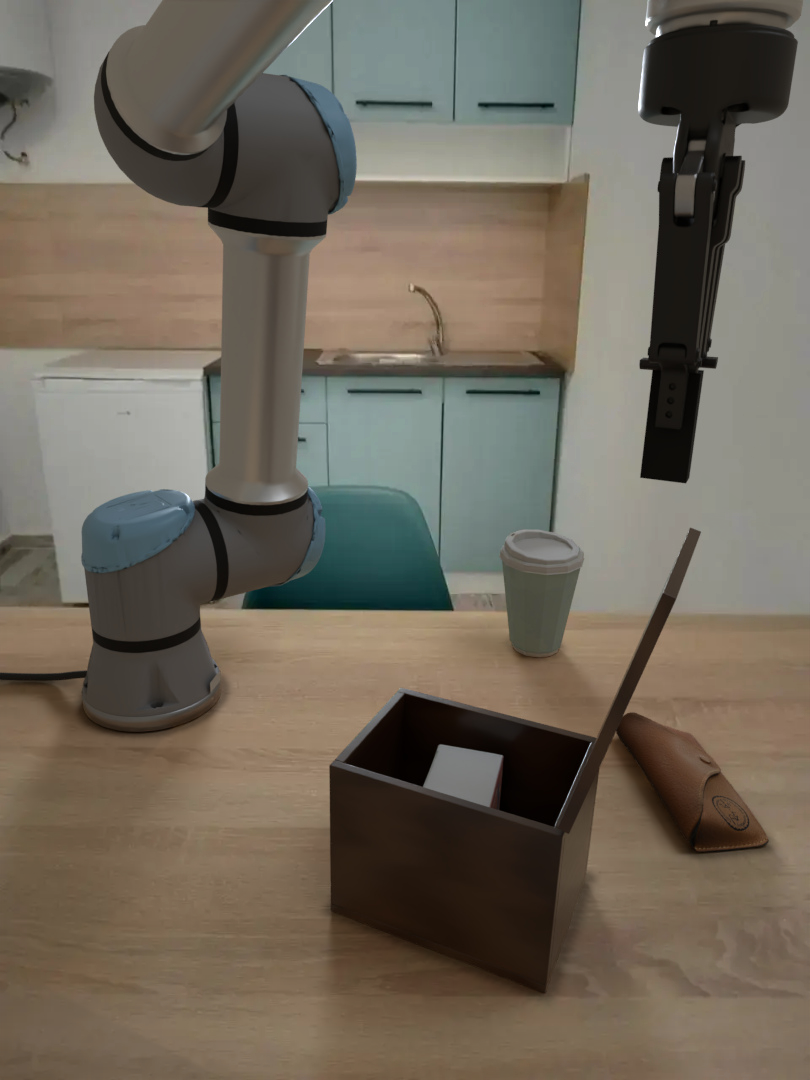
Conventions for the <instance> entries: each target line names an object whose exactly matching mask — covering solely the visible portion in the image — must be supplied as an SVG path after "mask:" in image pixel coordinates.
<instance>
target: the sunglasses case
mask: <svg viewBox="0 0 810 1080" xmlns="http://www.w3.org/2000/svg"><path fill="white" fill-rule="evenodd" d="M615 733H616V735H617V737H618V738H619V740H620V741H621V743H622V744H623V746H624V747H625V749H626V750H627V751H628V752H629V754H630V755H631V756H632V758H633V760H634V761H635V762H636V764H637V765H638V766H639V768H640V770H641V771H642V773H643V774H644V776H645V777H646V779H647V781H648V782H649V784H650V785H651V787H652V788H653V790H654V791H655V793H656V794H657V796H658V798H659V799H660V801H661V802H662V804H663V806H664V807H665V808H666V810H667V812H668V813H669V815H670V816H671V818H672V820H673V822H674V824H675V826H676V827H677V828H678V829H679V831H680V832H681V835H682V836H683V838H684V840H686V841H687V842H688V844H689V845H690V846H691V847H692V849H693V850H694V851H696V852H697V853H713V852H714V853H715V852H716V853H719V852H721V853H723V852H731V851H738V850H739V851H740V850H746V849H747V850H748V849H753V848H758V847H763V846H766V845H767V844H768V843H769V837H768V836H767V833H766V832H765V830H764V828H763V827H762V825H761V824H760V822H759V821H758V819H757V817H756V816H755V815H754V814H753V812H752V811H751V809H750V808H749V806H748V805H747V803H746V802H745V800H743V798H742V797H741V796H740V794H739V793H738V792H737V790H736V789H735V787H734V786H733V785H732V784H731V782H730V781H729V779H728V778H727V777H726V776H725V775H724V774H723V772H722V769H721V767H720V766H719V764H718V763H717V762H716V760H715V759H714V758H713V756H711V755H710V754H709V753H707V751H706V750H705V749H704V747H703V746H702V745H701V744H700V742H699V741H698V740H697V738H696V736H694V735H693V734H691V733H689V732H687V731H682V730H680V729H676V728H673V727H671V726H668V725H664V724H661V723H659V722H657V721H655V720H653V719H651V718H649V717H647V716H645V715H642V714H639V713H638V712H636V711H635V712H633V711H631V712H627V713H624V715H623V717H622V719H621V722H620V724H619V726H618V728H617V730H616V732H615Z"/></svg>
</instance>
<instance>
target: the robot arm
mask: <svg viewBox="0 0 810 1080" xmlns="http://www.w3.org/2000/svg"><path fill="white" fill-rule="evenodd" d="M333 1H334V0H161V1H160V3H159V4H158V6H157V7H156V8H155V10H154V12H152V13H153V14H152V15H151V16H150V18H149V19H148V21H147V22H146V24H142V25H138V26H134V27H132V28H128V29H127V30H126V31H124V32H123V33H122V34H121V35H119V37H118V38H117V39H116V40H115V41H114V42H113V44H112V46H111V48H110V49H109V51H108V52H107V54H106V56H105V57H104V59H103V60H102V63H101V64H100V66H99V70H98V73H97V75H96V76H97V77H96V81H95V84H94V85H95V86H94V91H93V92H94V93H93V110H94V115H95V120H96V124H97V129H98V132H99V135H100V138H101V140H102V143H103V144H104V147H105V149H106V150H107V152H108V154H109V155H110V157H111V159H112V160H113V161H114V163H115V164H116V166H117V167H118V169H120V171H121V172H122V173H123V174H124V175H125V176H126V177H127V178H128V179H129V180H130V182H132V183H134V184H135V185H136V186H137V187H138V188H140V189H141V190H143V191H144V192H146V193H147V194H148V195H151V196H153V197H155V198H157V199H159V200H161V201H164V202H166V203H169V204H173V205H176V206H182V207H195V208H203V209H205V208H206V209H207V225H208V227H209V228H210V229H211V231H213V233H215V235H216V236H217V237H218V238H219V239H220V241H221V243H222V287H221V288H222V289H221V293H222V295H221V344H220V345H221V348H220V349H221V350H220V352H221V353H220V404H219V405H220V406H219V456H218V459H219V460H218V461H219V463H217V464H216V465H215V466H214V467H213V468H211V469H210V470H209V471H208V472H207V473H206V475H205V478H204V479H205V480H204V481H205V482H204V484H205V485H204V498H200V499H195V500H192V498H191V497H190V496H189V494H187V493H186V492H183V491H180V490H177V489H165V488H163V489H158V490H154V491H153V490H152V489H147V490H140V491H135V492H131V493H128V494H124V495H121V496H117V497H115V498H112V499H109V500H108V501H105V502H104V503H102V504H100V505H99V506H96V508H94V509H93V510H92V511H91V512H90V513H89V514H87V516H86V517H85V519H84V521H83V522H82V526H81V556H80V559H81V560H80V561H81V565H82V567H83V569H84V577H85V586H86V594H87V602H88V610H89V619H90V626H91V633H92V634H91V635H92V646H91V650H90V654H89V658H88V664H87V668H86V670H74V671H66V672H65V671H64V672H50V673H49V672H47V673H45V672H44V673H43V672H41V673H38V672H36V673H34V672H33V673H31V672H30V673H29V672H2V671H1V672H0V681H22V682H23V681H25V682H27V681H28V682H47V681H48V682H49V681H51V682H52V681H53V682H54V681H68V680H75V679H84V680H83V682H82V686H81V697H82V707H83V711H84V713H85V715H86V716H87V718H89V719H90V720H91V721H92V722H94V723H95V724H96V725H99V726H101V727H104V728H107V729H109V730H114V731H121V732H131V733H133V732H136V733H142V732H153V731H160V730H165V729H169V728H173V727H177V726H180V725H183V724H186V723H188V722H190V721H192V720H195V719H197V718H198V717H201V716H202V715H204V714H205V713H207V712H208V711H209V710H210V709H211V708H212V707H213V706H214V705H215V704H216V703H217V702H218V700H219V699H220V696H221V693H222V678H221V677H222V676H221V675H222V674H221V669H220V668H219V666H218V664H217V662H216V660H215V659H214V658H213V657H212V654H211V650H210V647H209V645H208V642H207V640H206V638H205V635H204V632H203V629H202V621H201V606H202V605H204V604H208V603H211V602H215V601H219V600H222V599H226V598H229V597H234V596H238V595H241V594H246V593H249V592H252V591H257V590H260V589H264V588H269V587H271V588H275V587H280V586H283V585H285V584H287V583H289V582H290V581H294V580H297V579H299V578H302V577H304V576H306V575H308V574H309V573H311V572H312V571H313V570H314V568H316V566H317V565H318V564H319V561H320V559H321V557H322V554H323V551H324V547H325V543H326V533H327V532H326V531H327V530H326V528H327V527H326V519H325V517H323V516H322V512H323V505H322V504H321V500H320V499H319V497H318V496H317V494H316V492H315V491H314V490H313V489H312V488H311V487H310V486H309V481H308V478H307V477H306V476H305V475H304V474H303V473H302V472H301V471H300V470H299V469H298V468H297V461H298V445H299V431H300V412H301V399H302V397H301V396H302V381H303V380H302V379H303V367H304V365H303V364H304V351H305V337H306V336H305V334H306V318H307V316H306V315H307V305H308V304H307V303H308V290H309V289H308V288H309V287H308V286H309V271H310V259H311V257H310V256H311V252H312V250H313V249H315V248H316V247H317V246H318V245H319V244H320V243H321V242H322V241H323V240H325V239H326V238H327V232H328V231H327V230H328V217H329V215H333V214H335V213H336V212H338V211H341V210H342V209H343V208H344V207H345V206H346V205H347V203H348V202H349V197H350V196H352V193H353V191H354V188H355V184H356V178H357V169H358V165H357V164H358V163H357V162H358V159H357V157H358V156H357V146H356V140H355V136H354V131H353V127H352V125H351V122H350V119H349V117H348V115H347V114H346V113H345V110H344V107H343V105H342V103H341V102H340V101H339V99H338V98H337V96H336V95H335V94H334V93H333V92H332V91H331V90H330V89H328V88H326V87H325V86H323V85H322V84H318V83H317V82H312V81H309V80H305V79H301V78H297V77H294V76H289V75H288V74H273V73H265V71H266V70H267V69H268V68H269V67H270V66H271V65H272V64H273V63H274V62H275V61H276V60H277V59H278V58H279V57H280V56H281V55H282V54H283V53H284V52H285V51H286V50H287V48H288V47H290V45H292V43H293V42H295V40H296V39H297V38H298V37H299V36H300V35H301V34H302V33H303V32H304V31H305V30H306V29H307V28H308V27H309V26H310V25H311V24H312V23H313V22H314V21H315V20H316V19H317V18H318V17H319V16H320V15H321V14H322V13H323V11H325V10H326V9H327V7H328V6H330V4H332V2H333ZM803 4H804V0H647V4H646V14H645V24H644V26H645V28H646V30H648V31H649V32H650V33H651V34H652V35H653V36H655V37H654V38H653V39H651V40H650V41H649V43H648V45H646V46H645V47H644V49H643V56H642V66H641V75H640V83H639V84H640V86H639V94H638V95H639V96H638V104H637V113H638V115H639V117H640V119H642V120H643V121H644V122H645V123H648V124H651V125H657V126H663V127H673V128H674V127H675V128H677V131H676V138H675V142H674V147H673V154H672V155H673V156H670V157H663V158H662V160H661V164H660V173H659V180H658V182H657V193H658V230H657V243H656V257H655V272H654V282H653V283H654V285H653V296H652V310H651V311H652V312H651V324H650V325H651V326H650V338H649V346H648V348H647V357H642V358H640V359H639V364H638V365H639V370H645V371H646V370H647V371H651V379H650V386H649V387H650V389H649V395H648V404H647V405H648V406H647V414H646V424H645V430H644V431H645V432H644V441H643V447H642V448H643V449H642V458H641V466H640V473H639V475H640V476H639V478H640V479H647V480H654V481H663V482H670V483H679V484H687V482H688V481H689V479H690V476H691V469H692V461H693V454H694V448H695V447H694V446H695V438H696V432H697V424H698V417H699V409H700V401H701V394H702V387H703V379H704V373H705V370H703V369H713V370H714V369H715V370H716V369H717V366H718V360H719V357H718V356H708V352H710V348H712V342H713V339H712V338H711V337H712V331H713V324H714V316H715V311H716V304H717V298H718V292H719V287H720V281H721V280H720V279H721V273H722V267H723V261H724V254H725V249H726V244H727V243H728V242H729V241H730V239H731V236H732V230H733V223H734V222H733V221H734V216H735V215H734V214H735V207H736V201H737V197H738V196H739V195H740V193H741V191H742V189H743V185H744V177H745V172H746V171H745V170H746V159H743V156H742V155H734V151H735V143H736V129H737V127H739V126H740V125H743V124H745V125H746V124H751V125H752V124H753V125H755V124H760V123H765V122H766V123H767V122H769V121H773V120H775V119H778V118H779V117H781V116H782V115H783V114H784V113H785V112H786V110H788V107H789V102H790V97H791V90H792V83H793V78H794V71H795V64H796V59H797V52H798V44H799V41H798V39H797V38H795V35H794V33H793V32H792V31H790V30H788V28H790V27H792V26H793V25H794V24H795V23H796V22H797V21H799V19H800V18H801V16H802V11H803V6H804V5H803ZM700 368H701V369H700ZM702 368H703V369H702Z"/></svg>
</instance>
